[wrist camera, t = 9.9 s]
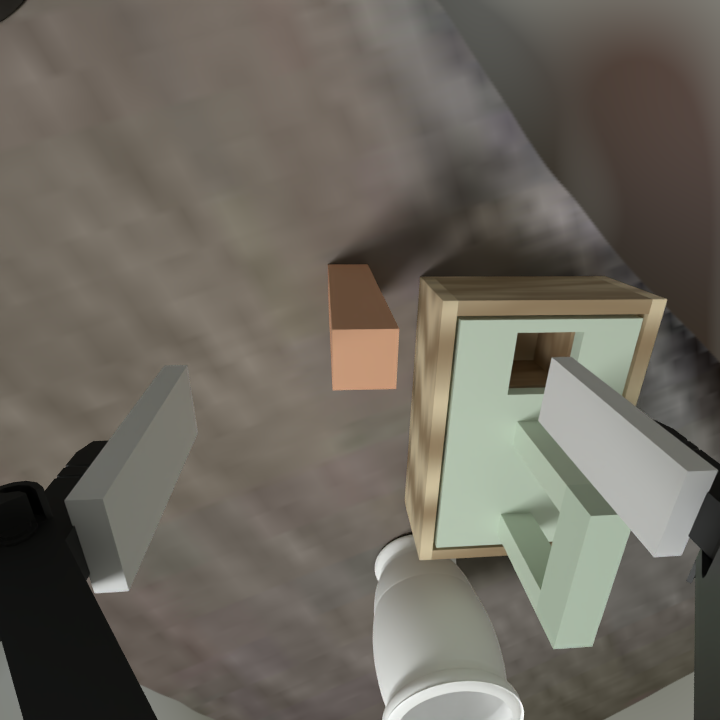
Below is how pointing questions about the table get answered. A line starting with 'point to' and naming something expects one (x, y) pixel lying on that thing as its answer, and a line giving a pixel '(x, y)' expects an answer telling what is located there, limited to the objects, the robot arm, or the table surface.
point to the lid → (531, 470)
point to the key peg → (360, 330)
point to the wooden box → (529, 366)
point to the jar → (435, 642)
